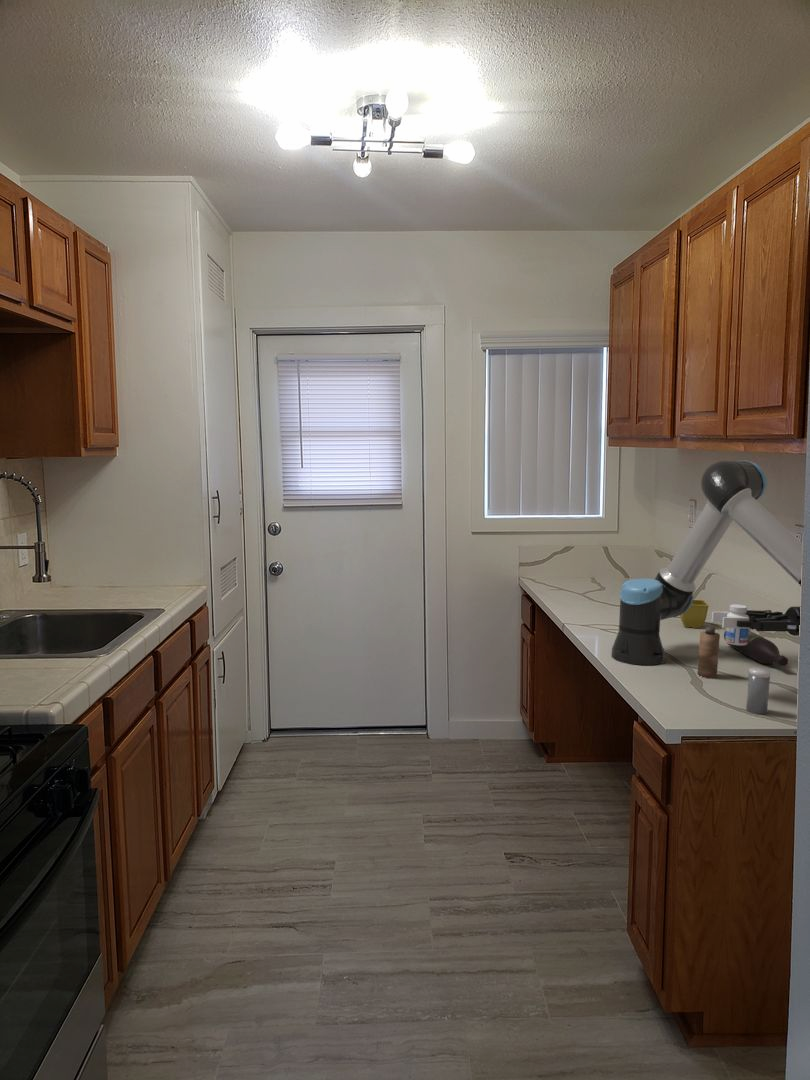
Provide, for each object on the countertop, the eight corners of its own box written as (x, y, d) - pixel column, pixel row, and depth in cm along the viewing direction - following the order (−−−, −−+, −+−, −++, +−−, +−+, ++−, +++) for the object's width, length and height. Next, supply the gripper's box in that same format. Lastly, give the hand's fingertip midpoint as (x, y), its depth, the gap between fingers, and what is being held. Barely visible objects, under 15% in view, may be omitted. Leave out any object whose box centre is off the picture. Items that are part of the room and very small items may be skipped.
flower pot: (707, 630, 264) (708, 605, 263) (680, 628, 266) (682, 603, 265) (702, 624, 273) (704, 600, 272) (676, 623, 274) (678, 598, 273)
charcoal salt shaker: (749, 713, 182) (752, 672, 180) (743, 707, 186) (746, 666, 185) (769, 714, 181) (773, 673, 180) (763, 708, 186) (766, 667, 184)
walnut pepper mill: (699, 677, 209) (703, 629, 208) (695, 672, 214) (698, 625, 212) (718, 679, 209) (722, 630, 207) (714, 673, 214) (717, 626, 212)
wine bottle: (748, 631, 244) (800, 657, 214) (737, 649, 244) (787, 678, 214) (730, 620, 243) (780, 645, 213) (719, 639, 244) (767, 666, 214)
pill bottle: (746, 641, 197) (749, 604, 196) (748, 646, 192) (751, 609, 191) (723, 639, 199) (726, 602, 198) (725, 644, 194) (728, 607, 192)
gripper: (825, 645, 187) (733, 643, 186) (785, 626, 205) (701, 625, 204) (828, 615, 186) (735, 613, 185) (788, 599, 204) (703, 597, 203)
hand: (717, 619), depth 194 cm, fingers closed on pill bottle, 5 cm apart
